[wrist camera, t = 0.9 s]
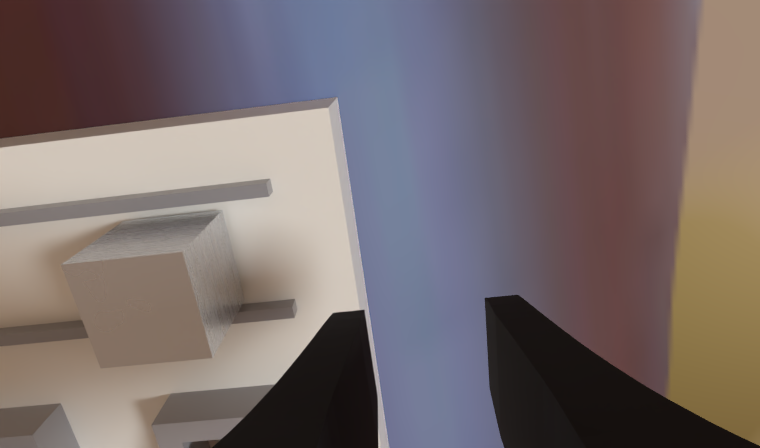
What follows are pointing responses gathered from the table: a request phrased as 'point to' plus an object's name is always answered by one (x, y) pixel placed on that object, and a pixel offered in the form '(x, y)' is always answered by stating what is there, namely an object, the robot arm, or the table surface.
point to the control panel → (158, 199)
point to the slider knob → (157, 289)
